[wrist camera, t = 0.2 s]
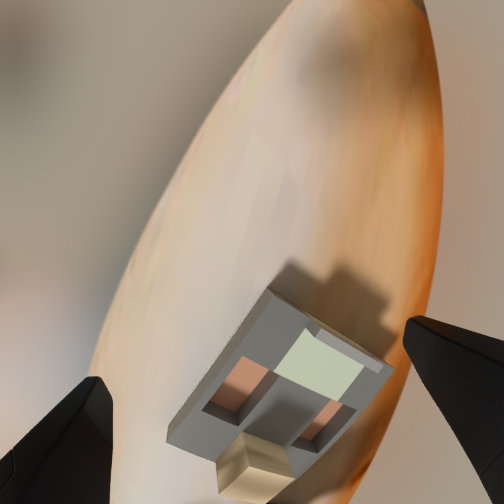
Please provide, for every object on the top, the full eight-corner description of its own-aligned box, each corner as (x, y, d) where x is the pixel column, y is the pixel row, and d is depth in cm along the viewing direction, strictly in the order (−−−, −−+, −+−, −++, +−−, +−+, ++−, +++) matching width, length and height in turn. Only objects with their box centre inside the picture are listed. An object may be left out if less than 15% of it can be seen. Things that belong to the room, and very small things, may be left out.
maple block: (255, 472, 22) (263, 505, 18) (215, 460, 22) (218, 494, 17) (282, 445, 22) (295, 478, 18) (242, 431, 22) (249, 466, 17)
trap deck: (286, 469, 26) (296, 496, 21) (168, 425, 23) (164, 457, 19) (381, 358, 26) (406, 378, 21) (266, 287, 23) (280, 302, 19)
